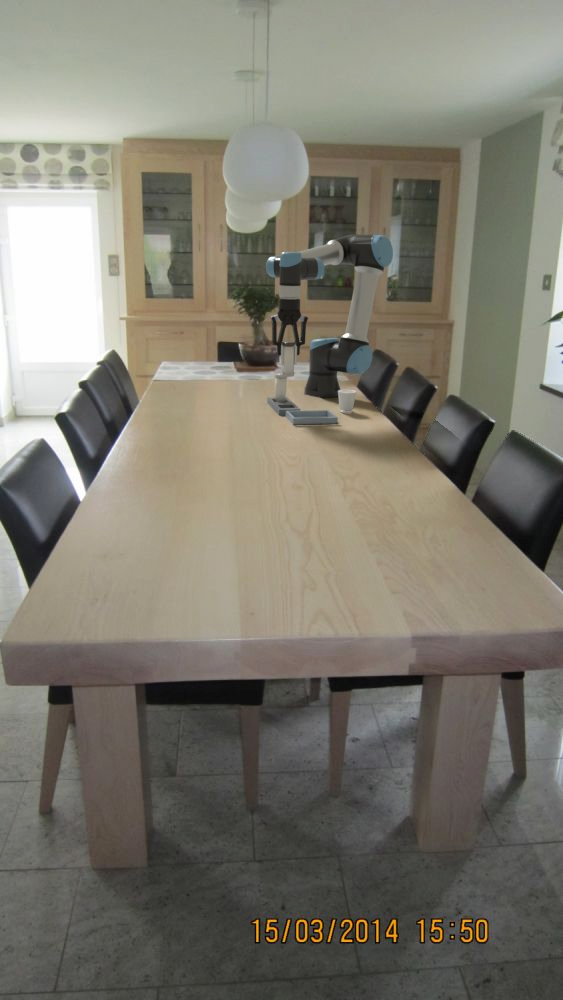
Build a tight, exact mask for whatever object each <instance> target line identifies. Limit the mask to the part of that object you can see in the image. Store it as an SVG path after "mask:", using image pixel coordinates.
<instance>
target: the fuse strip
mask: <svg viewBox="0 0 563 1000" xmlns="http://www.w3.org/2000/svg"><path fill="white" fill-rule="evenodd" d="M274 400H275V397H267V398H266V404H268V405H269V406H270V408H271V409H272V410H273V411H274V412H275V413H276V414H277V415H278V416H286V411H302V410H301V409H300V407H299V406H298V405H296V404H295V403H294V402H293V401H292V400H291V399H290V398H289V397H288V396H286V402H274Z"/></svg>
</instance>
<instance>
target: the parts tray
mask: <svg viewBox="0 0 563 1000" xmlns="http://www.w3.org/2000/svg"><path fill="white" fill-rule="evenodd" d="M285 418H287V420H289V421H290V423H291V425H295V426H322V425H323V426H324V425H325V426H327V425H328V426H329V425H333V424H335V425H338V420H339V418H338V416H337V415H336V414H334V413H333V412H332V411H330V410H329V409H319V410H318V409H316V410H315V409H313V410H301V411H286V415H285Z"/></svg>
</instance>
